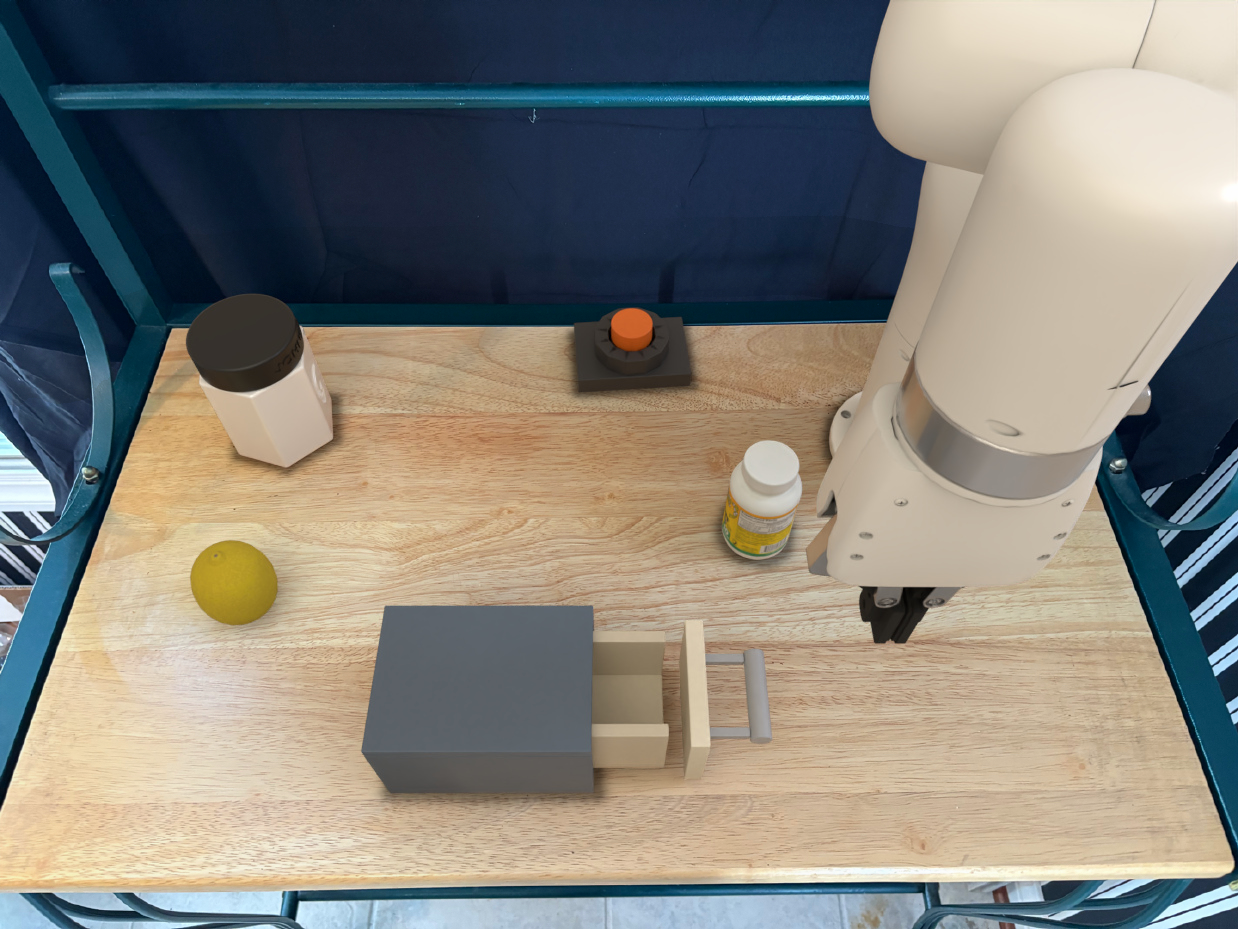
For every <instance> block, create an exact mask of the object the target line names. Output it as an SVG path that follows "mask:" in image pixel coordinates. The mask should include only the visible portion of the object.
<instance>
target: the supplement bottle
mask: <svg viewBox="0 0 1238 929" xmlns="http://www.w3.org/2000/svg"><path fill="white" fill-rule="evenodd" d="M746 449H747V450H746V451H745V452H744V455H743V458H742V460H741V461H739V463H738V464H737V465H735V467H734V468H733V470H732V472H731V474H730V478H729V483H728V488H727V494H726V499H725V505H724V511H723V514H722V515H723V516H722V522H721V532H722V536H723V538H724V540H725V543H726V544H727V546H728V547H729V548H730V549H731V551H733V552H734V553H735V554H736V555H738V556H740V557H743V558H745V559H748V560H754V561H755V560H756V561H761V560H767V559H770V558H773V557H775V556H776V555H779V554H780V553H781V552H782V551H783V549H784V548H785V547H786V545H787V543H788V540H789V538H790V534H791V530H792V527H793V524H794V520H795V517H796V514H797V510H798V507H799V504H800V501H801V498H802V494H803V483H802V479H801V476H800V474H799V471H800V460H799V457H798V455H797V454H796V452H795V451H794V450H793V449H792V448H791V447H790V446H788V445H787V444H785V443H783V442H781V441H777V440H773V439H772V440H770V439H768V440H767V439H766V440H760V441H756V442H755V443H753V444H751V445H750V446H749V447H748V448H746Z"/></svg>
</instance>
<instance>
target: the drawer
mask: <svg viewBox="0 0 1238 929" xmlns="http://www.w3.org/2000/svg"><path fill="white" fill-rule="evenodd" d="M666 639H667V638H666V631H665V630H594V631H593V679H592V760H593V768H594V769H656V768H657V769H664V768H665V764H666V759H667V758H666V757H667V752H668V751H667V750H668V744H669V737H670V731H669V730H670V729H669V728H670V727H669V726H670V724H669V723H664V700H663V699H664V697H663V693H664V692H663V669H664V668H663V667H664V658H665V652H666V650H665V649H666V642H667V641H666ZM707 666H743V671H744V672H743V673H744V683H745V684H744V685H745V695H746V705H747V718H748V719H747V720H748V726H740V727H739V726H731V727H730V726H726V727H725V726H724V727H723V726H722V727H721V726H711V725H710V712H709V695H708V694H709V693H708V679H707V678H708V677H707ZM678 667H679V668H678V672H679V675H678V676H679V695H680V696H679V697H680V717H681V719H680V720H681V740H682V741H681V742H682V759H683V760H682V763H683V764H682V765H683V779H684V781H702V780H703V777H704V772H705V769H706V764H707V761H708V758H709V754H710V750H711V746H712V744H711V743H712V742H711V740H749V741H750V742H751V743H752V744H755V745H765V744H770V743H771V742H773V730H772V721H771V711H770V701H769V700H770V699H769V692H768V691H769V690H768V682H767V672H766V661H765V652H764V650H762V649H761V648H748V649H746V650H744V651H743V652H742V653H706V645H705V629H704V619H685V620H684V623H683V632H682V638H681V644H680V650H679V659H678Z"/></svg>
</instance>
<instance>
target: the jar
mask: <svg viewBox="0 0 1238 929" xmlns="http://www.w3.org/2000/svg"><path fill="white" fill-rule="evenodd" d="M185 346H186V351H187V354H188V356H189V358H190V359H191V361H192V363H193V364H194V366H195V368H196V370H197V372H198V373H199V379H198V385H199V387H200V388H201V390H202V392H203V393H204V395H205V397H206V399H207V401H208V402H209V404H210V407H211V408H212V409H213V411H214V413H215V415H216V416H217V419H218V420H219V421H220V423H221V425H222V428H224V431H225V432H226V434H227V436H228V437H229V439H230V441H231V443H232V444H233V446H234V448H235V450H236V451H237V453H238V455H240V456H241V457H245V458H249V459H252V460H257V461H260V462H263V463H268V464H271V465H275V466H278V467H281V468H286V469H287V468H289V467H291V466H293V465H294V464H296V463H298V462H299V461H301V460H303V459H304V458H306V457H307V456H309V455H310V454H312V453H313V452H315V451H317V450H319V449H320V448H321V447H323V446H325V445H327V444H328V443H330V442H331V441H332V440H334V426H333V425H334V424H333V423H334V422H333V404H332V402H333V401H332V397H331V395H330V393H329V390H328V388H327V385H326V383H325V380H324V377H323V375H322V372H321V370H320V368H319V365H318V362H317V360H316V357H315V354H314V351H313V349H312V347H311V344H310V342H309V340H308V337H307V334H306V332H305V329H304V327H303V326H302V325H300V324H299V322H298V319H297V317H296V316H295V315H294V312H293V311H292V309H291V308H290V307H289V306H288V305H287V304H286V303H285V302H284V301H282V300H280V299H278V298H276V297H274V296H272V295H267V294H262V293H244V294H238V295H234V296H229V297H226V298H224V299H221V300H219V301H216V302H214V303H212V304H211V305H209V306H208V307H207V308H205V309H204V310H202V311H201V312H200V313H199V314H197V316H196V317H195V318H194V320H193V321H192V323H191V324H190V325H189V328H188V330H187V333H186V337H185Z"/></svg>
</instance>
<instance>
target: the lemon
mask: <svg viewBox="0 0 1238 929" xmlns="http://www.w3.org/2000/svg"><path fill="white" fill-rule="evenodd" d="M189 581H190V589H191V593H192V596H193V597H194V599H195V602H196V603H197V606H198V607H199V608H200V609H201V610H202V611H203V612H204V613H205V615H207V616H208V617H209V618H211V619H213V620H215V621H217V622H218V623H221V624H223V625H229V626H244V625H248V624H251V623H253V622H256V621H257V620H259V619H261V618H262V617H263V616H265V615H266V614H267V613H268V612H269V611H270V610H271V608H272V607H273V605H274V603H275V601H276V599H277V595H278V590H279V584H278V583H279V582H278V576H277V573H276V570H275V567H274V565H273V563H272V562H271V561H270V559H269V558H268V557H267V556H266V554H265V553H263V551H261V550H260V549H258V548H257V547H256V546H254V545H252V544H250V543H248V542H245V541H241V540H234V539H227V540H221V541H218V542H215V543H213V544H211V545H209V546H208V547H206V548H205V549H203V550H202V551H201V552H200V553H199V555H198V556H197V557H196V559H195V560H194V562H193V564H192V566H191V570H190V575H189Z"/></svg>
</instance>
